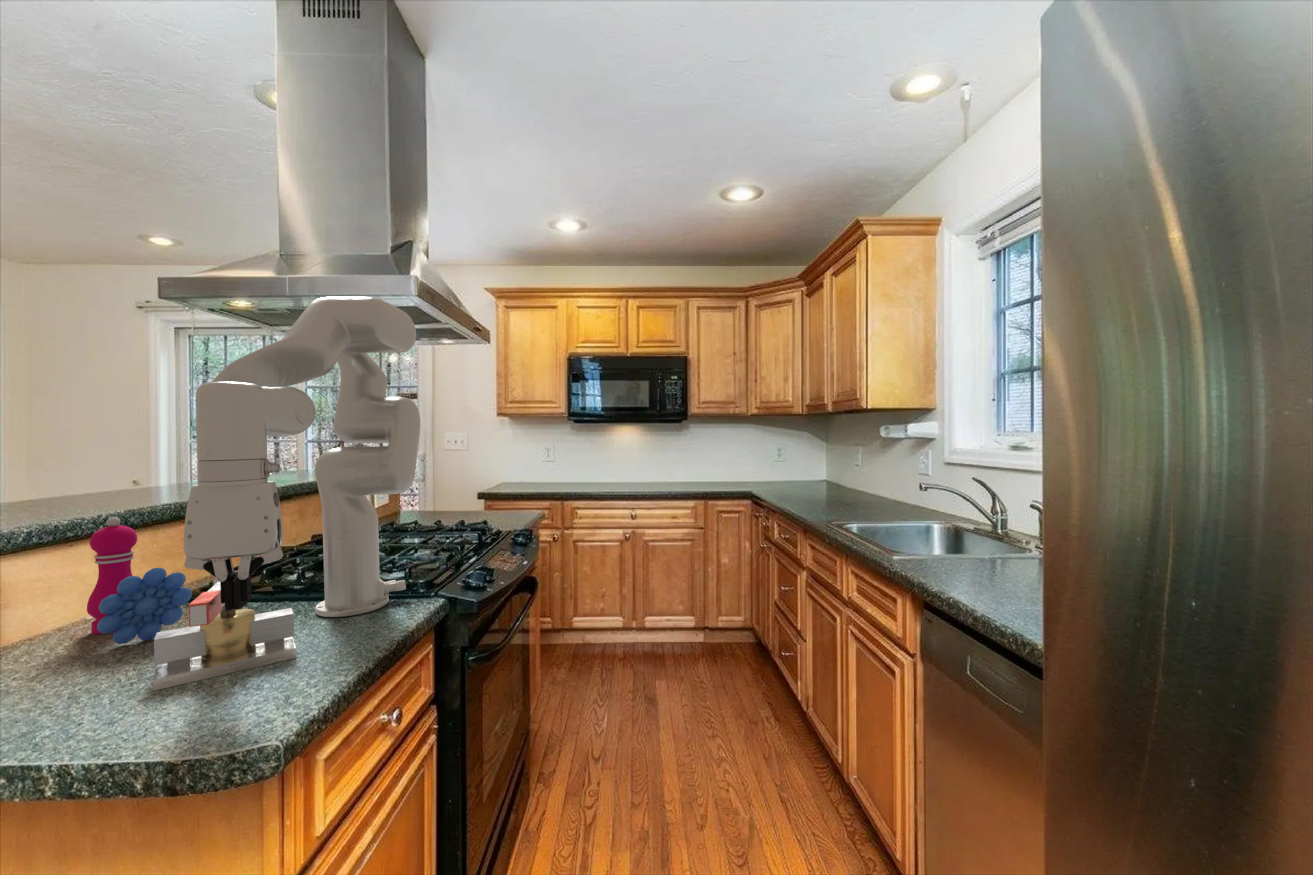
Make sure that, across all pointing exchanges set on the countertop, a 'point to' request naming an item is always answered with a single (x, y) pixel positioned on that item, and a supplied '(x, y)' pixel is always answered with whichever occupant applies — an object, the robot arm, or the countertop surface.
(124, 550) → the pepper mill
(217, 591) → the valve lever
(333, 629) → the countertop surface
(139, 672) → the countertop surface
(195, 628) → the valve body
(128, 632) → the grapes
